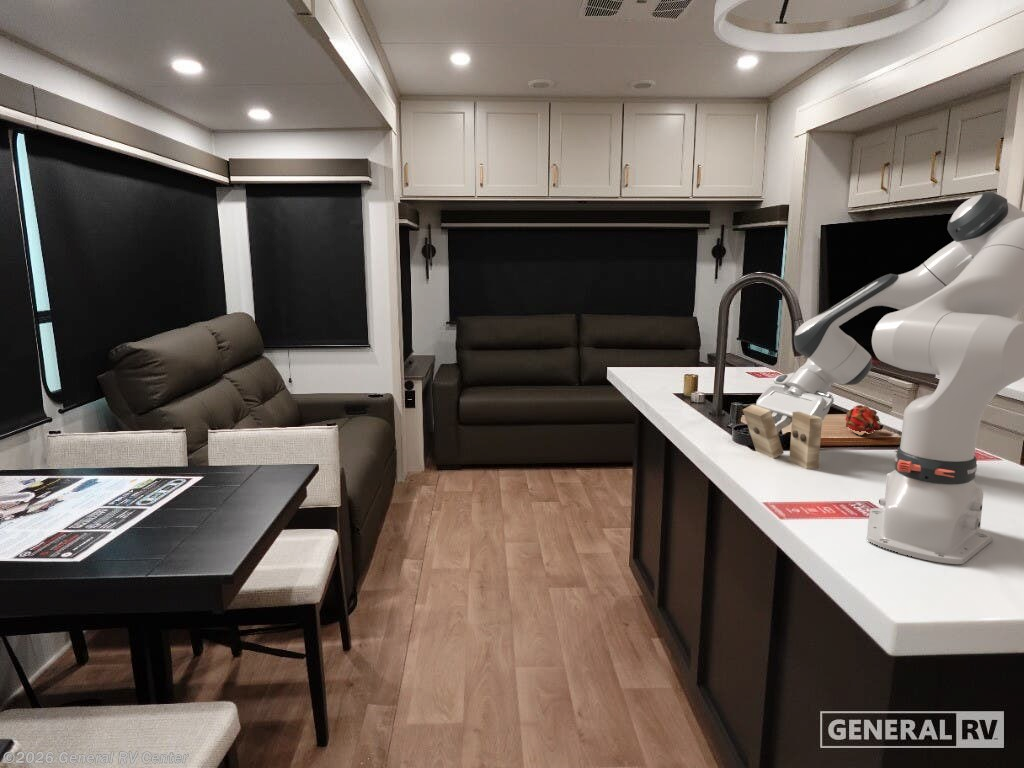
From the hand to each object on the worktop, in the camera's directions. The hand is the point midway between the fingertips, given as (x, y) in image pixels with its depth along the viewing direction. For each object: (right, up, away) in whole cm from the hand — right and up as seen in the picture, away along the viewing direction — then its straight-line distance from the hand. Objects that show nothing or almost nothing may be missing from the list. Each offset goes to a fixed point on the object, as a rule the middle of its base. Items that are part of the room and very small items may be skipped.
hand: (771, 430), depth 160 cm
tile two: (+5, -7, -7) cm, 11 cm away
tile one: (0, -5, +1) cm, 5 cm away
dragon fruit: (+32, -2, +18) cm, 37 cm away
